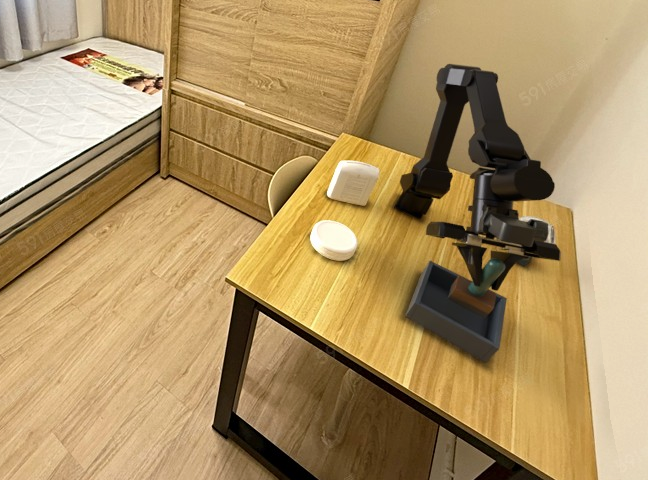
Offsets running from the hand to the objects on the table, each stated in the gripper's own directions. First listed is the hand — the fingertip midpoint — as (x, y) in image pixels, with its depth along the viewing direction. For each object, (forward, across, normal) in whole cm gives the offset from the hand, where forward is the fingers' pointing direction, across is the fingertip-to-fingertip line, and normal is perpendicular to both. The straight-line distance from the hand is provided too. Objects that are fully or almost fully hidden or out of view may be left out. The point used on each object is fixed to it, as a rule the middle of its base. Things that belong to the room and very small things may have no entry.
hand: (485, 288), depth 72 cm
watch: (-8, +21, +28) cm, 35 cm away
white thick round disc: (-1, -22, +20) cm, 30 cm away
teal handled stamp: (+3, 0, +5) cm, 6 cm away
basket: (+7, 0, +11) cm, 14 cm away
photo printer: (-14, -16, +33) cm, 40 cm away
